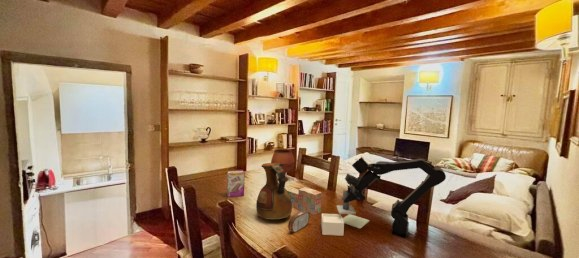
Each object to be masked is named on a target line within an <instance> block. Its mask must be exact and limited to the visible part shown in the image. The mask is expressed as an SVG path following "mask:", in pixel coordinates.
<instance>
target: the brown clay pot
mask: <svg viewBox="0 0 579 258" xmlns="http://www.w3.org/2000/svg"><path fill="white" fill-rule="evenodd" d="M295 162H296V161H295V157H294V155H293V152H292V149H289V148H277V149H274V151H273V155H272V157H271V160H270V163H280V165H279V166H281V168H282V169H283V171H284V173H285V178H286V182H287V181H288V180H289V178H288V177H287V176H286V174H287V173H289V172H290V171H291V170H293V168H294V166H295ZM277 180H278V182H279V179H278V178H277Z"/></svg>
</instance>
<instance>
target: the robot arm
mask: <svg viewBox="0 0 579 258" xmlns="http://www.w3.org/2000/svg"><path fill="white" fill-rule="evenodd" d="M351 166H352V168H353V169H354V170H355V171H356V172H357V173H358V174H362V175H361V176H358V177H356V176H354V175H352V174H349V173H347V174H346V176H345V178H344V180H345V181H346V183H347V189H346V191H349V192H350V194H349V195H348V196H347V197H346V198H345V200H344V203H346V202H349V203H350V202H353V201H358V200H360V201H361V202H364V201H365V200H366V195H364V191H365V190H366V189H369V188H370V185H371V184H372V183H374V182H375V181H376V180H378V181H379V182H381V181H382V180H381V176H382V175H385V174H388V173H392V172H395V171H403V170H404V171H405V170H413V169H420V170H422V171H423V172H424V173H426V174H427V175H426V176H425V179H423V181H422V182H421V183H420V184H419V185H418V186H417V187H416V188H415V189H414V190H412V191H411V192H410V193H409V194H408V195H407V196H406V197H405V198H404V199H403V200H399V199H397V200H396V201H395V202H394V203H392V206H391V210H390V216H391V218H392V219H393V221H392V227H391V230H392V232H391V234H392V235H395V236H398V237H401V238H405V239H406V238H407V237H408V236H409V234H410V232H409V225H410V224H409V223H410V222H409V215H408V214H407V213H408V211H409V210H410V208H411V207H413V205H414V204H415V203H416V202H417V201H419V200H420V199H421V198H422V197H423V196H424V195H425V194H426V193H427V192H428V191H429V190H431V188H433V187H436V186H439V185H440V184H442V183H443V182H444V181H445V180H446V173H445V171H444V169H442V168H441V167H439V166H434V165H433V164H431V163H430V162H428V161H426V160H425V159H424V158H417V159H410V160H399V161H382V160H380V161H377V162H376V163H368V162H367V161H366V160H365V159H364V157H362V156H361V157H359V159H357V160H355V161H354V163H353V164H352V165H351ZM342 200H343V197H342Z"/></svg>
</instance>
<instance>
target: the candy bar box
mask: <svg viewBox="0 0 579 258" xmlns="http://www.w3.org/2000/svg"><path fill="white" fill-rule="evenodd" d="M226 175H227V177H226V182H227V183H226V197H227V198H235V197H236V198H237V197H244V196H245V175H246V173H245V171H244V170H233V171H232V170H231V171H227V172H226Z"/></svg>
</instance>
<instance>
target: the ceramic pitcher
mask: <svg viewBox="0 0 579 258" xmlns="http://www.w3.org/2000/svg"><path fill="white" fill-rule="evenodd" d="M279 165H280V163H271V162H266V163H263V164H261V166H260V167H261V168H263V170H264V171H265V177H266V180H265V181H266V182H265V184H264V185H263V186H262V187H261V189H260V191H259V193H258V195H257V198H256V208H255V209H256V214H257V215H258V217H260V218H262V219H266V220H280V219H286V218H288V217H289V216H290V215H291V214H292V212H293V207H292V201H291V198H290V195H289V193H288V190H287V189H286V187H285V186H286V182H287V181H286V178H285V176H286V175H285V173H284V171H283V169H282V168H281V166H279ZM277 179H279V181H278V180H277Z"/></svg>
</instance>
